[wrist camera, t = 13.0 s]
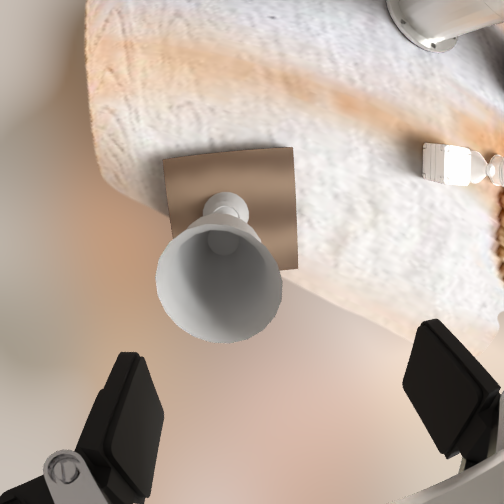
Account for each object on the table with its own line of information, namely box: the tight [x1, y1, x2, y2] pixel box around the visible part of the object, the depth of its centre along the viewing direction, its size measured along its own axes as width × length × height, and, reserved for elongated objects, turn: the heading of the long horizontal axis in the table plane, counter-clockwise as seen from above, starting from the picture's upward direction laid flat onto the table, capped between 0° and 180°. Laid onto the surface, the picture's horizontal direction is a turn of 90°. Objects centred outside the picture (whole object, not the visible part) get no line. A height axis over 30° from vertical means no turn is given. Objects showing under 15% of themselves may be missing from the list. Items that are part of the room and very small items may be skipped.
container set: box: [422, 143, 504, 187], centre depth 33 cm, size 20×5×6 cm, turn 92°
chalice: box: [155, 192, 282, 343], centre depth 25 cm, size 7×7×18 cm
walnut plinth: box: [163, 147, 298, 271], centre depth 35 cm, size 14×14×3 cm
